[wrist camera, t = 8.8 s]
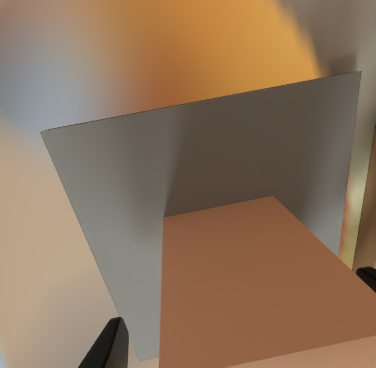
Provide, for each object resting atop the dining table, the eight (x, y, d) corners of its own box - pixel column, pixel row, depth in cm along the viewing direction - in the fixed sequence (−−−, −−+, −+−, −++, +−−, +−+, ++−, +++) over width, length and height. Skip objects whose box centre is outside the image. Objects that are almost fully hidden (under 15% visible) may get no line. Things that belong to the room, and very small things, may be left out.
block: (274, 278, 12) (372, 443, 6) (183, 297, 12) (198, 482, 6) (273, 195, 10) (411, 327, 4) (162, 217, 10) (159, 381, 4)
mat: (323, 312, 14) (330, 321, 14) (140, 350, 14) (139, 361, 13) (348, 72, 9) (361, 71, 8) (48, 129, 8) (39, 131, 8)
